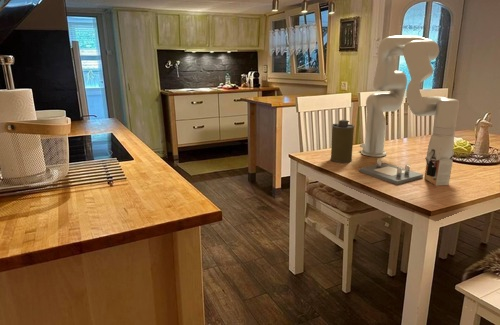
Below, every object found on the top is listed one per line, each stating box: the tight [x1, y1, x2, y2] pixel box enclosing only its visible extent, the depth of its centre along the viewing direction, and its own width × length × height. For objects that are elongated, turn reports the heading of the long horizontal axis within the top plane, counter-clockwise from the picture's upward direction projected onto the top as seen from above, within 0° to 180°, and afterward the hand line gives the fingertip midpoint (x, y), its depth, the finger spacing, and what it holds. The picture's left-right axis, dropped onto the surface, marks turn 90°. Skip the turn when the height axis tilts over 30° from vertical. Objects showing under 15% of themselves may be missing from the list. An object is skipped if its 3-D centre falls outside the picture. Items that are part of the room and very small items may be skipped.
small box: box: [423, 158, 454, 187], centre depth 135 cm, size 8×6×10 cm
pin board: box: [358, 162, 424, 186], centre depth 146 cm, size 20×16×2 cm
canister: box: [330, 119, 355, 164], centre depth 166 cm, size 11×10×20 cm
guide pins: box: [376, 157, 411, 177], centre depth 146 cm, size 14×7×4 cm, turn 29°
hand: (437, 173), depth 136 cm, fingers open, 8 cm apart
